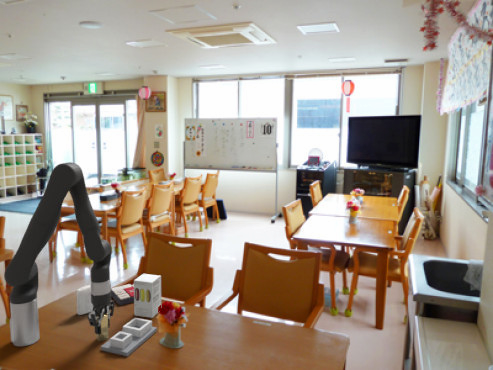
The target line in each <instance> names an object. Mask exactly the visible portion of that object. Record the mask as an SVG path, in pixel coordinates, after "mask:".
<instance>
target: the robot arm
mask: <svg viewBox="0 0 493 370" xmlns="http://www.w3.org/2000/svg"><path fill="white" fill-rule="evenodd" d="M46 184H47V185H46V188H45V190H44V193H43V195H42V197H41V199H40V200H39V202H38V205H37V206H36V209H35V211H34V212H33V214H32V216H31V218H30V220H29V222H28V224H27V228H26V230H25V232H24V233H23V236H22V238H21V241H20V244H19V246H18V248H17V250H16V252H15V254H14V255H13V257H12V258H11V260H10V261H9V264H8V265H7V266H6V268H5V270H4V272H3V273H4V274H3V275H4V281H5V282H6V284H7V285H8V286H9V287H12V290H11V292H10V294H9V307H10V318H9V328H10V330H9V331H10V341H11V343H12V344H13V346H15V347H26V346H30V345H33V344H35V343H36V342H38V341H39V340H40V336H41V335H40V320H39V307H38V291H39V268H38V265H37V262H36V260H37V258H38V256H39V255H40V253H41V252H42V251H43V249H45V247H46V246H47V244H48V242H49V241H50V240H51V238H52V236H53V235H54V233H55V231H56V229H57V226H58V224H59V221H60V219H61V216H62V215H61V214H62V207H63V203H64V201H65V199H66V196H67V194H68V193H69V194H70V196H71V199H72V202H73V210H74V216H75V217H74V218H75V220H76V224H77V225H78V228H79V230H80V232H81V235H82V239H83V245H84V250H85V253H86V255H87V257H88V259H89V260H90V261H92V262H93V264H92V266H91V268H90V285H91V303H92V304H93V311H92V312H89V313H86V316H87V319H88V322H89V326H91V327H94V333H95V334H96V335H97V334H98V335H100V334H101V325H100V324H101V320H102V319H103V315H104V314H106V313H107V314H108V329H109V328H110V325H111V324H110V320H111V317H113V316H114V312H115V304H116V301H115V300H112V297H111V288H112V283H111V275H110V273H111V271H110V270H111V269H110V266H111V259H112V246H111V244H110V242H109V241H108V240H107V239H101V232H102V228H101V226H100V223H99V220H98V218H97V215H96V214H95V213H96V212H95V211H94V208H93V205H92V204H91V200H90V197H89V193H88V189H87V187H86V181H85V176H84V172H83V169H82V167H81V166H80V165H79V164H77V163H75V162H72V161H71V162H63V163H59V164H57V165H56V166H54V167H53V169H52V171H51V172H50V176H49V178H48V181H47V183H46ZM97 316H99V317H100V318H98V317H97ZM97 320H98V322H97Z"/></svg>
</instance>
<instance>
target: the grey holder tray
mask: <svg viewBox="0 0 493 370" xmlns="http://www.w3.org/2000/svg"><path fill="white" fill-rule="evenodd" d="M157 331H158V327H157V326H153V320H149V319H144V318H138V317H134V318H132V319H131V320H130V321H128V322H127V323H126V324H124V325H122V330H121V331H120V330H119V331H118V332H117V333H116V334H114V335H113V336H112V337H110V338H109V339H108V340H106V342H105V343H104V344H102V345H100V351H104V352H107V353H110V354H111V353H112V354H116V355H120V356H123V357H129V356H130V355H131V354H132V353H133V352H134V351H136V350H137V349H138V348H139V347H140V346H141V345H143V344H144V343H145V342H146V341H147V340H148V339H150V338H151V337H152V336H153V335H154V334H155V333H156V332H157Z"/></svg>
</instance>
